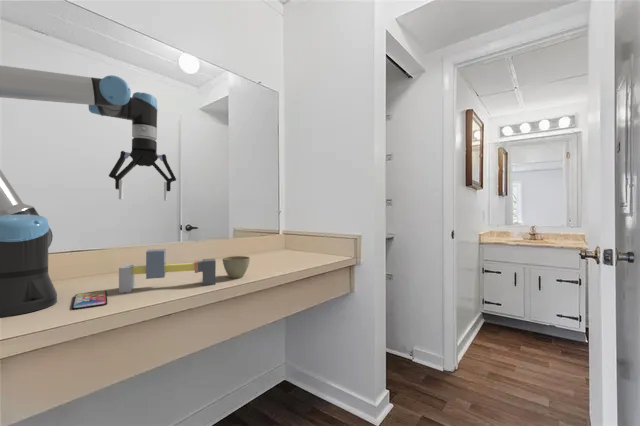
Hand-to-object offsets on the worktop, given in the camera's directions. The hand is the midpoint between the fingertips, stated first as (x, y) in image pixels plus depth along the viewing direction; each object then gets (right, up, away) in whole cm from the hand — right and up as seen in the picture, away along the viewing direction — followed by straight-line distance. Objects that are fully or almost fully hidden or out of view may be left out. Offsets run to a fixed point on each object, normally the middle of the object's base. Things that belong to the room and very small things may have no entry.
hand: (143, 200), depth 105 cm
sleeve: (+9, -25, -8) cm, 28 cm away
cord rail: (+13, -29, -7) cm, 32 cm away
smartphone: (-1, -29, -22) cm, 37 cm away
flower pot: (+30, -29, +8) cm, 43 cm away
